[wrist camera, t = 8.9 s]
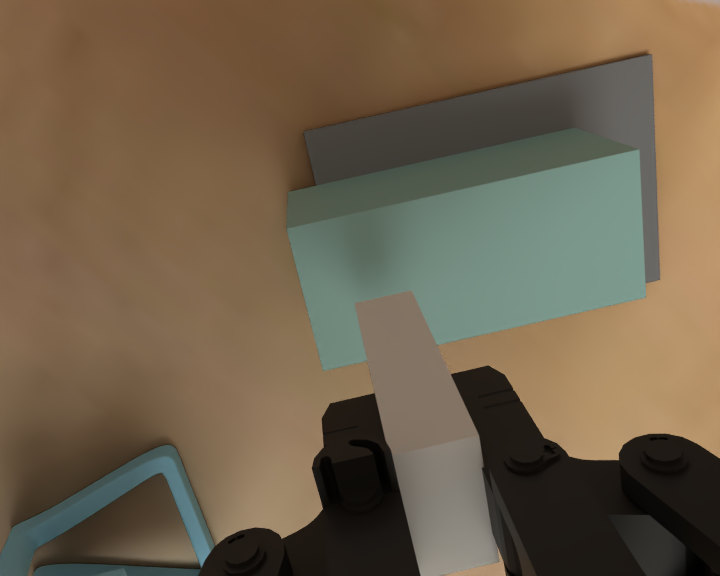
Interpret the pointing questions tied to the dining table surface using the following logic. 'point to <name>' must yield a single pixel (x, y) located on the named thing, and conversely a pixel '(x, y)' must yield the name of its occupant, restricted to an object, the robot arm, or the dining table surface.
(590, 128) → the slate mat
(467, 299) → the teal block
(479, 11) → the dining table surface
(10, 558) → the chair
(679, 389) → the dining table surface
